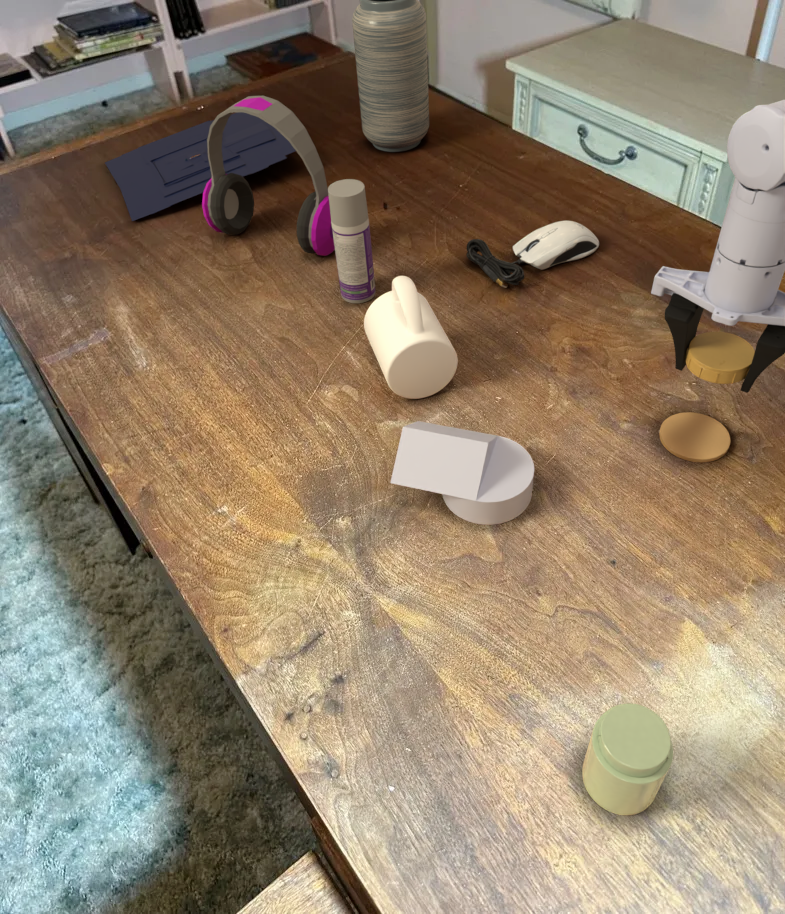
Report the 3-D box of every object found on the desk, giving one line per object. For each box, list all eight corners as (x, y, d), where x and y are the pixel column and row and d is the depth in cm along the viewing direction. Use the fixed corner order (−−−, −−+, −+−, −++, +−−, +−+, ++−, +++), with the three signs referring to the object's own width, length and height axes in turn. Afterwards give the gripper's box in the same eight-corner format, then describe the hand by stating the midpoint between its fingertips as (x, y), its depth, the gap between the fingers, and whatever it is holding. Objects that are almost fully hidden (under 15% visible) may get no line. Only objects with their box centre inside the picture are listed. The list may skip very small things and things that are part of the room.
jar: (655, 748, 58) (675, 703, 53) (658, 821, 54) (680, 782, 49) (583, 736, 59) (595, 691, 54) (581, 808, 55) (593, 768, 50)
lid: (698, 338, 75) (702, 324, 74) (759, 357, 73) (764, 343, 71) (675, 370, 72) (679, 356, 71) (738, 392, 69) (742, 378, 68)
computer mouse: (614, 254, 105) (618, 228, 102) (502, 296, 100) (503, 270, 97) (570, 223, 111) (573, 198, 108) (462, 261, 106) (462, 235, 103)
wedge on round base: (392, 505, 76) (521, 533, 73) (387, 459, 72) (525, 486, 68) (419, 443, 82) (539, 466, 79) (416, 396, 77) (544, 419, 74)
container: (356, 279, 105) (344, 175, 94) (382, 290, 102) (373, 184, 92) (333, 296, 102) (318, 190, 91) (360, 307, 100) (347, 200, 89)
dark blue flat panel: (311, 168, 126) (305, 147, 123) (139, 237, 121) (129, 217, 118) (264, 116, 142) (258, 97, 139) (111, 176, 137) (101, 157, 134)
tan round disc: (726, 418, 82) (727, 415, 81) (732, 466, 77) (733, 462, 77) (658, 412, 83) (658, 409, 83) (660, 458, 78) (661, 455, 78)
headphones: (354, 239, 112) (338, 99, 98) (323, 270, 107) (302, 127, 92) (238, 214, 119) (208, 80, 105) (204, 241, 114) (168, 105, 100)
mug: (389, 406, 86) (381, 320, 78) (366, 353, 93) (357, 267, 85) (458, 390, 88) (458, 302, 79) (430, 338, 95) (427, 252, 86)
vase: (350, 147, 133) (334, -1, 117) (390, 122, 140) (380, -22, 123) (403, 162, 128) (394, 9, 112) (442, 135, 134) (440, -13, 118)
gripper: (650, 248, 64) (624, 372, 74) (833, 298, 58) (779, 426, 68) (681, 211, 68) (653, 334, 78) (856, 254, 62) (802, 382, 72)
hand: (713, 374), depth 73 cm, fingers closed on lid, 5 cm apart
